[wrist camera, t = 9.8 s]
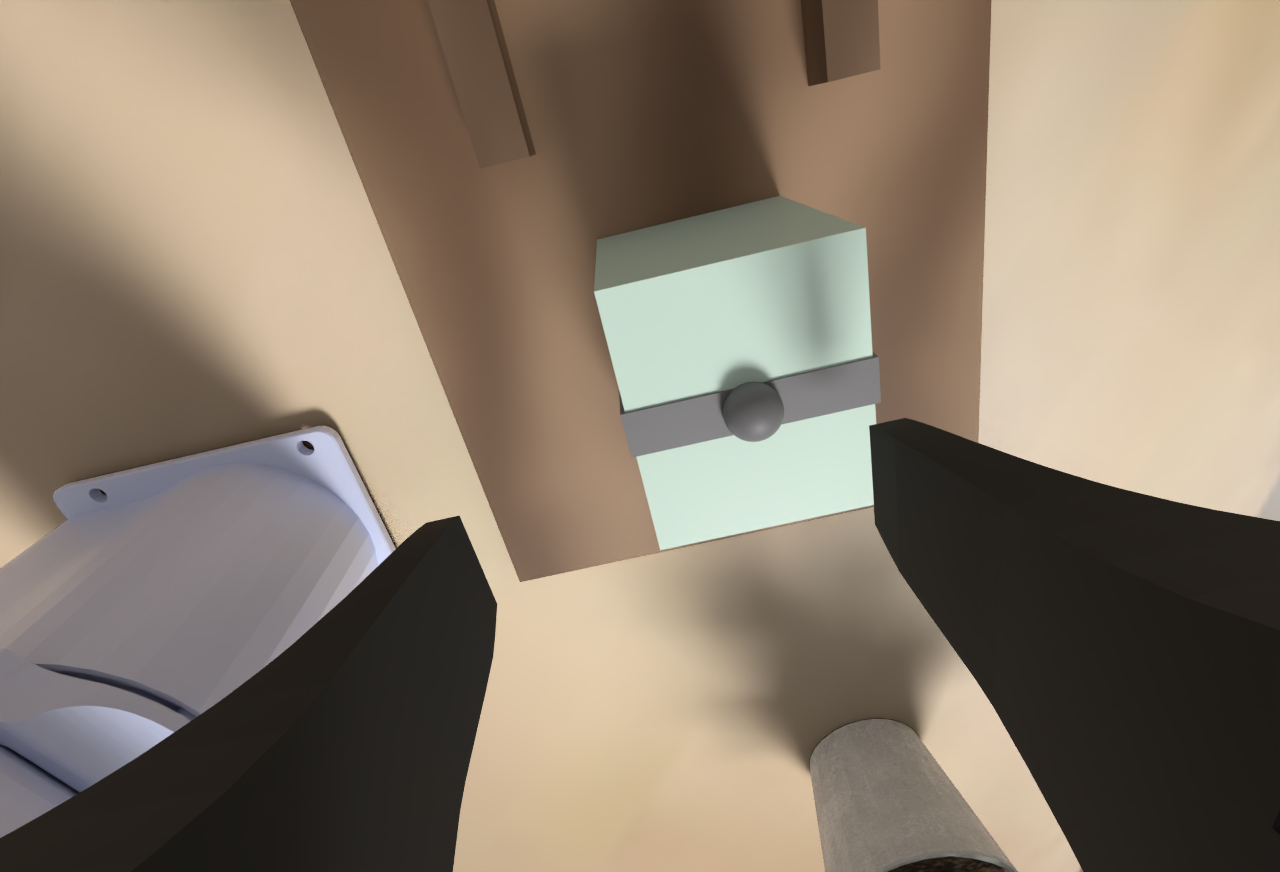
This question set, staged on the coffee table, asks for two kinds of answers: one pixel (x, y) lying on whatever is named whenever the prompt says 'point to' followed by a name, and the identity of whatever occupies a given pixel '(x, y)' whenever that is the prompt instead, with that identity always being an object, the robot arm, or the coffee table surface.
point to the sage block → (743, 366)
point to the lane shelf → (650, 203)
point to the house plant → (894, 806)
